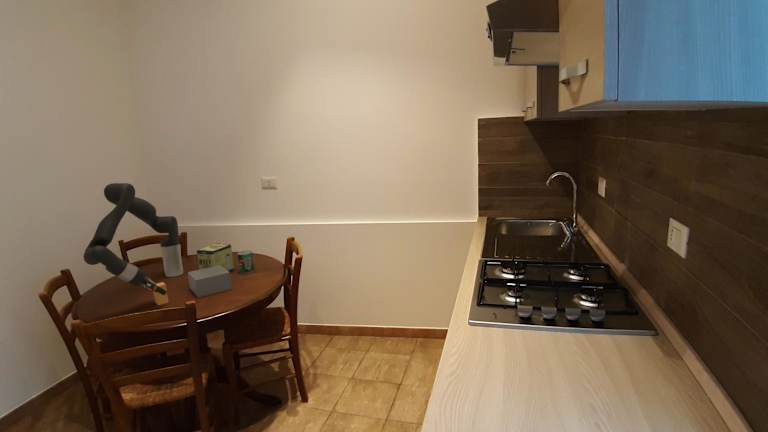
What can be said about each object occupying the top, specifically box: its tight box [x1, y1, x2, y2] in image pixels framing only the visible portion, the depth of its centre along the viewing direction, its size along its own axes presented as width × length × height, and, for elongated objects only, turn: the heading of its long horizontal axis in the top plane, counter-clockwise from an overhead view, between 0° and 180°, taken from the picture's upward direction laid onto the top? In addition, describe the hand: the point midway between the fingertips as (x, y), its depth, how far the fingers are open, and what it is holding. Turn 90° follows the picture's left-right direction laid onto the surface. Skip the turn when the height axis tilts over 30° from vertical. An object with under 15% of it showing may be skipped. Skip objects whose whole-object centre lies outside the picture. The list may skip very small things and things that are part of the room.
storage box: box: [187, 265, 233, 298], centre depth 220 cm, size 16×16×9 cm
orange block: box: [153, 281, 169, 306], centre depth 205 cm, size 4×4×9 cm
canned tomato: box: [237, 250, 255, 275], centre depth 245 cm, size 8×8×11 cm
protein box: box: [196, 242, 235, 273], centre depth 242 cm, size 10×16×16 cm
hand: (162, 291), depth 205 cm, fingers open, 8 cm apart
